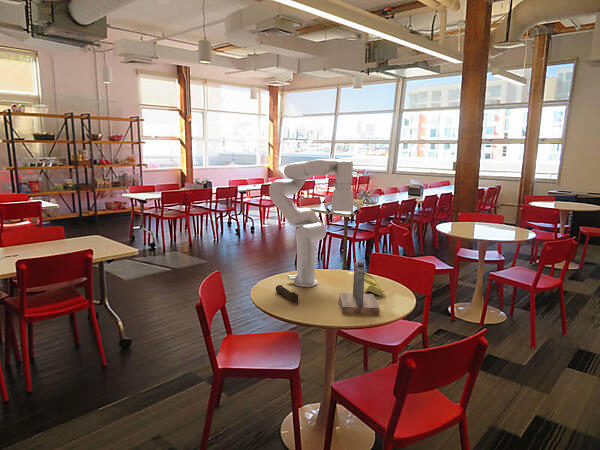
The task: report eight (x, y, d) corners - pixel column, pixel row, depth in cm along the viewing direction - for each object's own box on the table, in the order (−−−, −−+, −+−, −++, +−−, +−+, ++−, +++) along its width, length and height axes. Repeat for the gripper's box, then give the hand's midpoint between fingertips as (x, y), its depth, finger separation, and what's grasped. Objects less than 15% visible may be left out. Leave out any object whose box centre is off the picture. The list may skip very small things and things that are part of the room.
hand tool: (275, 292, 203) (275, 283, 202) (282, 291, 205) (282, 282, 204) (292, 306, 187) (292, 296, 186) (300, 304, 188) (300, 295, 188)
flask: (360, 294, 194) (362, 257, 191) (365, 306, 180) (367, 266, 177) (352, 294, 194) (354, 257, 191) (356, 305, 180) (358, 266, 177)
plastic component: (385, 291, 201) (368, 283, 199) (378, 304, 202) (360, 296, 200) (373, 276, 220) (358, 268, 218) (366, 287, 221) (351, 280, 219)
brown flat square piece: (342, 313, 179) (342, 306, 179) (339, 299, 196) (339, 293, 195) (379, 314, 179) (379, 307, 179) (372, 299, 196) (373, 294, 195)
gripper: (325, 187, 189) (323, 223, 193) (362, 188, 189) (360, 224, 192) (324, 185, 197) (322, 220, 200) (360, 186, 196) (358, 221, 200)
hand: (341, 222), depth 196 cm, fingers open, 9 cm apart
